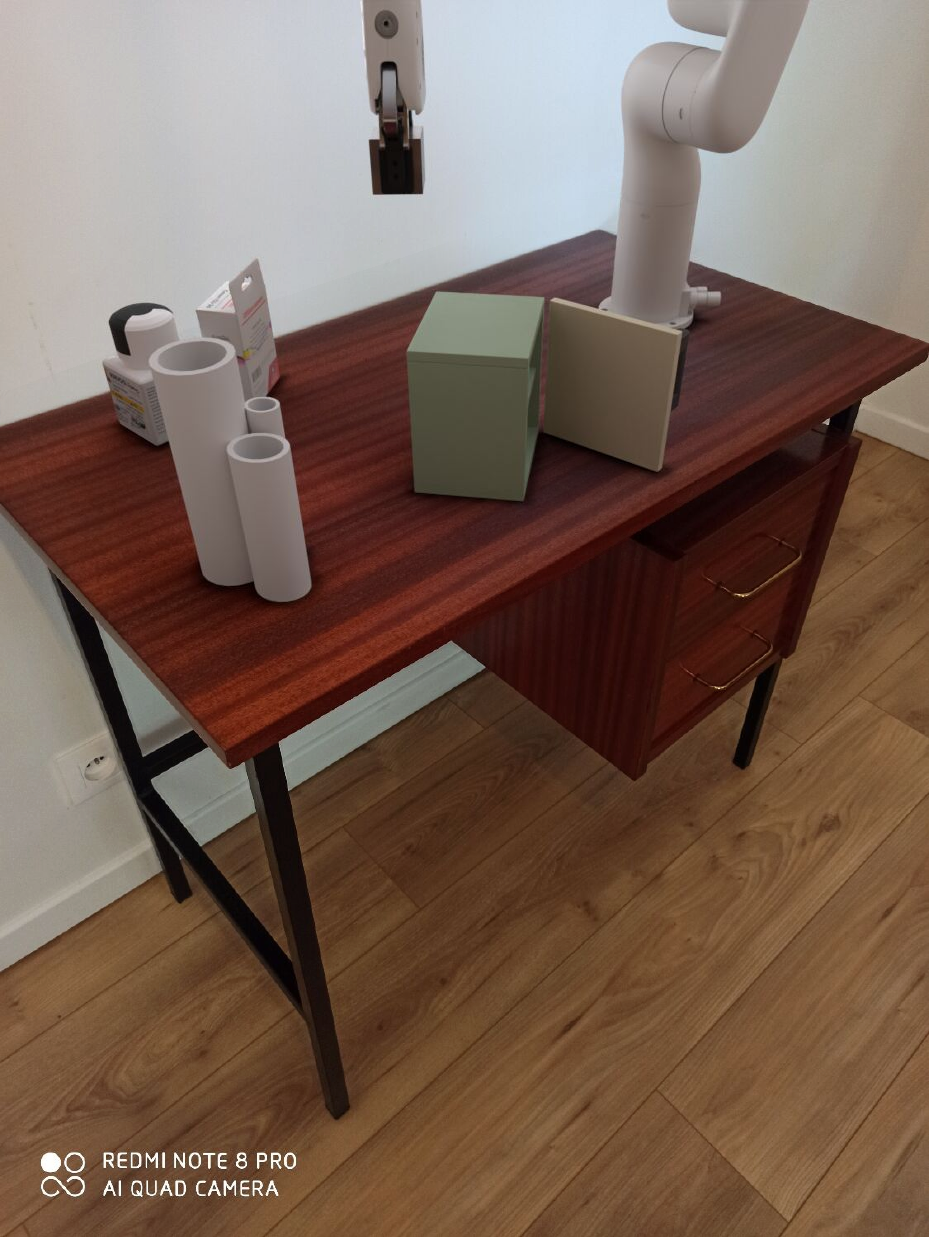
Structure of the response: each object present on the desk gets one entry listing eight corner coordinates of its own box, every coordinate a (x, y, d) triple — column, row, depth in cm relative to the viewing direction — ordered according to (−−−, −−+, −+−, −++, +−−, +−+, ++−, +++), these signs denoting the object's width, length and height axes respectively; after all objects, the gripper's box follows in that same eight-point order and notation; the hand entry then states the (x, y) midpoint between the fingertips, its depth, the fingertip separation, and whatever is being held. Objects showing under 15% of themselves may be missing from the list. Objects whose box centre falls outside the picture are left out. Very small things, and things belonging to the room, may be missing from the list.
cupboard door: (578, 406, 104) (587, 277, 94) (689, 442, 98) (712, 308, 88) (543, 432, 100) (549, 300, 90) (657, 472, 93) (677, 334, 84)
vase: (186, 576, 81) (129, 367, 68) (231, 532, 86) (187, 330, 73) (295, 607, 78) (257, 393, 65) (336, 560, 83) (309, 352, 70)
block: (425, 179, 94) (423, 126, 90) (423, 194, 90) (420, 139, 87) (376, 180, 94) (373, 126, 91) (372, 195, 90) (368, 139, 87)
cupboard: (538, 431, 100) (544, 296, 90) (523, 501, 90) (528, 358, 80) (440, 424, 102) (436, 291, 92) (414, 492, 91) (406, 350, 81)
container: (118, 424, 103) (85, 311, 94) (177, 400, 107) (150, 290, 98) (157, 447, 99) (126, 332, 90) (216, 421, 103) (192, 309, 94)
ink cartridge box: (243, 375, 112) (220, 252, 102) (281, 378, 111) (262, 255, 101) (214, 408, 105) (187, 281, 96) (255, 412, 104) (232, 284, 95)
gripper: (425, -26, 73) (434, 211, 85) (433, -48, 86) (439, 161, 98) (333, -24, 73) (354, 212, 85) (354, -47, 86) (370, 161, 98)
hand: (399, 182), depth 92 cm, fingers closed on block, 5 cm apart
